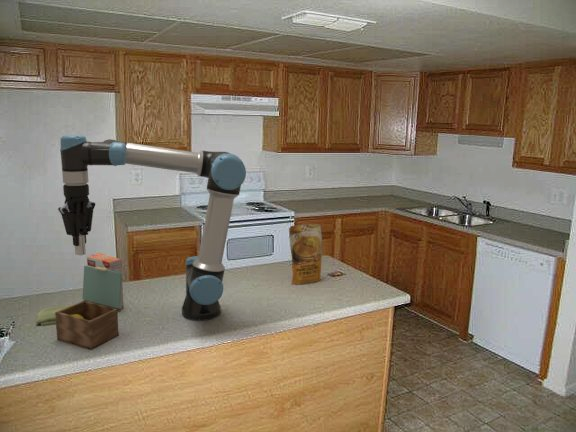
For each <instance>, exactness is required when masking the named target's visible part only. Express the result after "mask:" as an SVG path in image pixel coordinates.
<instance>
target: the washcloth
mask: <svg viewBox="0 0 576 432" xmlns="http://www.w3.org/2000/svg"><path fill="white" fill-rule="evenodd" d="M74 304H75V303H73V304H66V305H58V306H51V307H46V308H43V309H41V310H39V313H38V314H37V316H36V317H37V318H36V322H35V323H36V324H39V325H40V326H41V327H44V326H51V324H52V325H56V317H55V312H57V311H60V310H62V309H65V308H67V307H69V306H72V305H74Z"/></svg>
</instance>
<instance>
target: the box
mask: <svg viewBox="0 0 576 432" xmlns="http://www.w3.org/2000/svg"><path fill="white" fill-rule="evenodd" d="M73 304H74V305H72V306H69V307H67V308H65V309H62V310H60V311H57V312H55V317H56V324H55V327H56V329H55V330H56V340H57V341H59V342H64V343H67V344H71V345H74V346H76V347H80V348H83V349H86V350H90V351H93V350H95V349H97V348H99V347H101V346H102V345H104V344H106V343H108V342H109V341H112V340H113V339H115V338H117V337H119V318H118V317H119V316H118V315H119V314H118V312H119V313H120V312H121V311H122V309H118V308H114V307H110V306H106V305H102V304H98V303H94V302H90V301H87V300H82V301H79V302H77V303H73ZM74 314H78V315H81V316H82V317H83V318H84V319H83V318H79V317H75V316H72V315H74Z"/></svg>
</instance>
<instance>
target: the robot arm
mask: <svg viewBox="0 0 576 432" xmlns="http://www.w3.org/2000/svg"><path fill="white" fill-rule="evenodd" d="M60 161H61V162H60V163H61V172H62V183H63V186H62V189H63V196H64V198H65V200H64V204H63V206H61V207H60V206H59V207H58V208H57V210H58V212H59V213H60V215H61V219H62V222H63V226H64V229H65V233H66V235H68V236H71V237H72V245H73V247H74V253H75V255H77V256H84V255H85V256H86V250H87V249H86V245H87V236H89V232H91V230H92V225H93V217H94V216H93V215H94V209H95V207H96V202H94V201H93V202H92V201H90V199H89V195H90V188H89V187H90V186H89V184H88V183H89V171H88V166H114V167H116V166H124V165H126V164H127V165H134V166H140V167H148V168H149V167H150V168H156V169H161V170H168V171H169V170H171V171H177V172H185V173H193V174H196V175H197V176H198V177H203V178H206V179H207V183H206V190H207V192H208V193H209V197H208V202H207V208H206V213H205V218H204V219H205V220H204V223H203V230H202V235H201V241H200V245H199V250H198V255H195V256H189V257H187V258H185V259H186V260H185V265H184V266H185V298H184V301H183V303H182V307H181V315H182V317H183V318H185V319H187V320H190V321H207V320H211V319H215V318H217V317H219V315H220V314H221V311H222V309H221V304H220V299H221V298H222V296H223V294H224V283H223V279H224V274H225V270H226V267H225V266H224V264H223V258H224V253H225V247H226V242H227V238H228V233H229V232H228V231H229V226H230V221H231V216H232V211H233V206H234V205H233V204H234V200H235V198H238V196H239V195H240V192H241V187H242V184H243V183H244V181H245V179H246V176H247V168H246V166H245V164H244V162H243V161H242V159H241V158H240V157H239V156H237V155H235V154H233V153H230V152H227V151H207V150H200V151H199V152H195V151H189V150H181V149H175V148H174V149H173V148H167V147H161V146H154V145H147V144H141V143H132V142H125V141H119V140H116V139H112V138H111V139H104V141H94V142H93V141H87V138H86V136H85V135H82V134H81V135H79V134H78V135H76V134H70V135H69V134H67V135H66V134H65V135H62V136H61V137H60Z"/></svg>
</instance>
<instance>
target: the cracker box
mask: <svg viewBox="0 0 576 432" xmlns="http://www.w3.org/2000/svg"><path fill="white" fill-rule="evenodd" d="M86 261H87V263H86V264H87V266H91V267H102V268H107V269H109V270H110V271H115V272H120V273H122V274H123V271H122V270H123V269H122V259H121V258H118V257H114V256H110V255H107V254H102V253H101V252H98V253H94V254H90V255H89V254H88V255H87V256H86ZM123 290H124V289H123V283H122V284H121V301H120V308H118V309H121V310H122V309H123V308H124V292H123ZM90 302H91V301H90ZM94 303H95V302H94ZM98 304H99V303H98ZM102 305H103V304H102ZM106 306H107V305H106ZM110 307H111V306H110ZM114 308H115V307H114Z"/></svg>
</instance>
